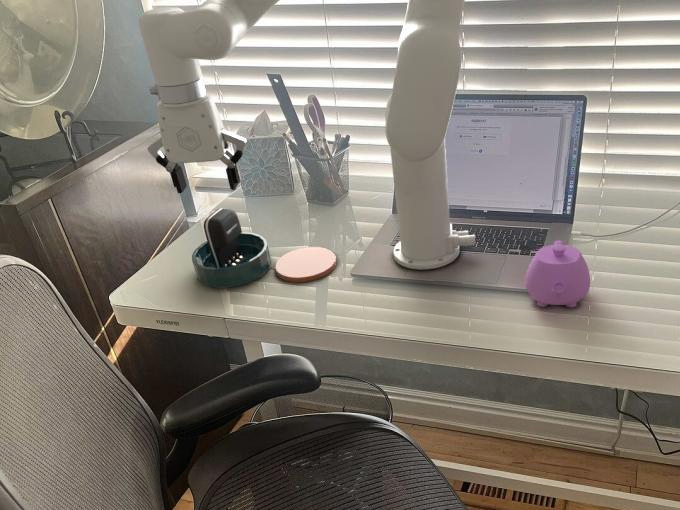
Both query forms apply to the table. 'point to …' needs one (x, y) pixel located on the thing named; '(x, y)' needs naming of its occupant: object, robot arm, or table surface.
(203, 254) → the bowl
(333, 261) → the plate
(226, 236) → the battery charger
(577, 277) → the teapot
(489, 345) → the table surface
